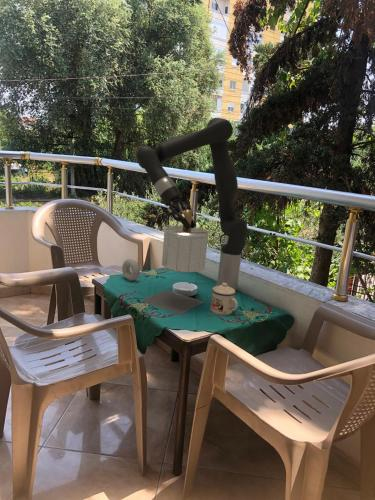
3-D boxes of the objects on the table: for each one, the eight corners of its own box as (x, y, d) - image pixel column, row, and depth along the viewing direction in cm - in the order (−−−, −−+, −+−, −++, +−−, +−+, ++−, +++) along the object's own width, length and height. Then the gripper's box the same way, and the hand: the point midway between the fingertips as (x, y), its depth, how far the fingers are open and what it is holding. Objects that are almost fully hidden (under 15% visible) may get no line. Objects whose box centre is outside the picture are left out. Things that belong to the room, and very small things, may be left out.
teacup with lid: (204, 309, 160) (208, 281, 157) (220, 305, 166) (224, 278, 163) (227, 320, 152) (230, 291, 149) (243, 316, 158) (247, 287, 155)
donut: (119, 277, 187) (121, 256, 184) (125, 276, 189) (127, 255, 187) (134, 284, 181) (135, 262, 178) (140, 282, 183) (141, 261, 181)
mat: (166, 291, 176) (166, 289, 176) (204, 303, 167) (204, 301, 167) (140, 302, 161) (140, 300, 161) (180, 316, 152) (180, 314, 152)
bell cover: (177, 256, 171) (182, 205, 165) (212, 265, 162) (218, 211, 157) (153, 264, 157) (157, 208, 151) (190, 275, 149) (195, 216, 143)
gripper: (163, 186, 150) (188, 224, 147) (184, 184, 161) (207, 220, 158) (150, 198, 154) (174, 236, 151) (172, 196, 166) (194, 231, 162)
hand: (191, 227), depth 155 cm, fingers closed on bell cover, 3 cm apart
